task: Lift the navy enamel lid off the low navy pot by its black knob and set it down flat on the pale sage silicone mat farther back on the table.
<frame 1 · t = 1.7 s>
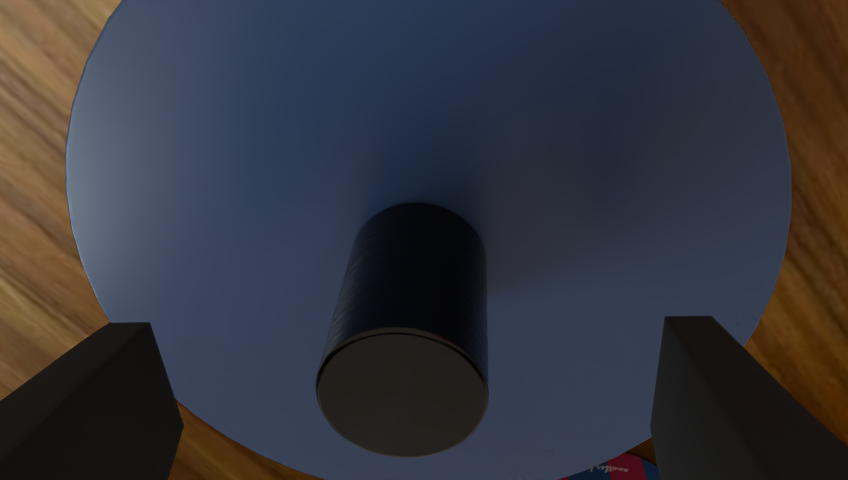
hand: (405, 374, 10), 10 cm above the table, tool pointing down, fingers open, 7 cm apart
lid: (420, 245, 13), point 6 cm above the table, touching pot
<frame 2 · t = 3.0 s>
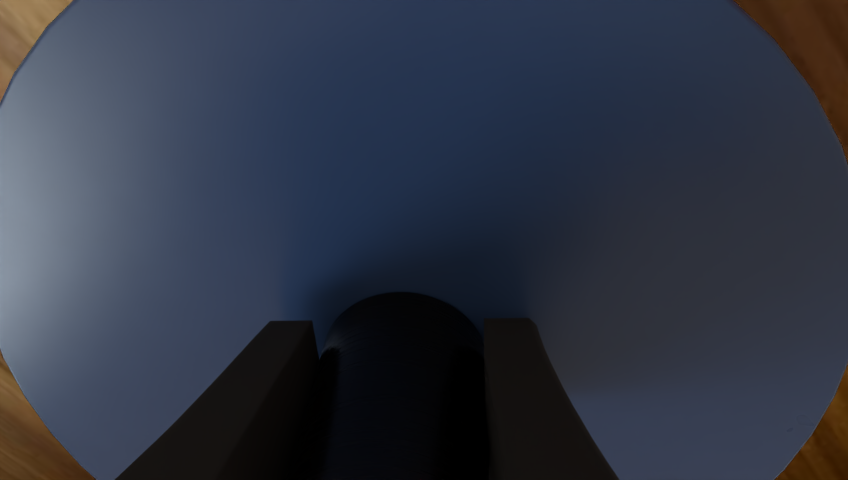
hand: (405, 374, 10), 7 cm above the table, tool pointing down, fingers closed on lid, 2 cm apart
lid: (408, 334, 11), point 6 cm above the table, touching gripper, pot
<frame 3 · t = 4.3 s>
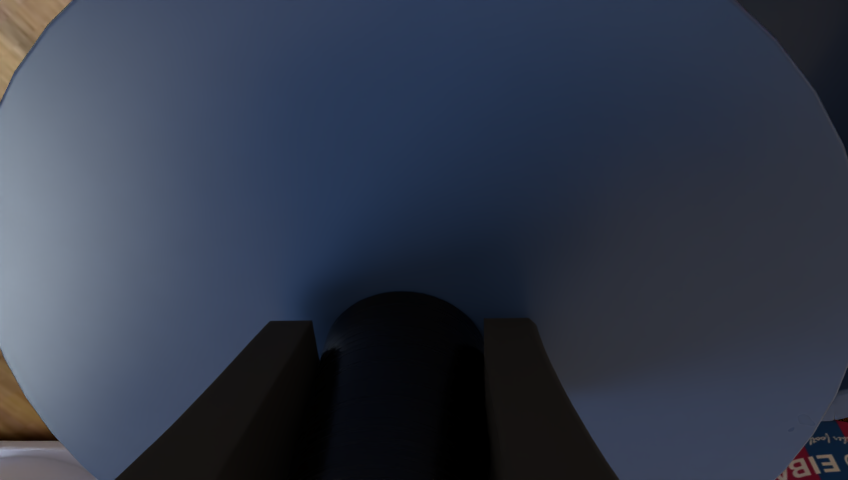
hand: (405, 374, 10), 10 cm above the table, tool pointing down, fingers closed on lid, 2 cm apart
pot: (730, 58, 18), on the table
lid: (409, 333, 11), point 9 cm above the table, touching gripper
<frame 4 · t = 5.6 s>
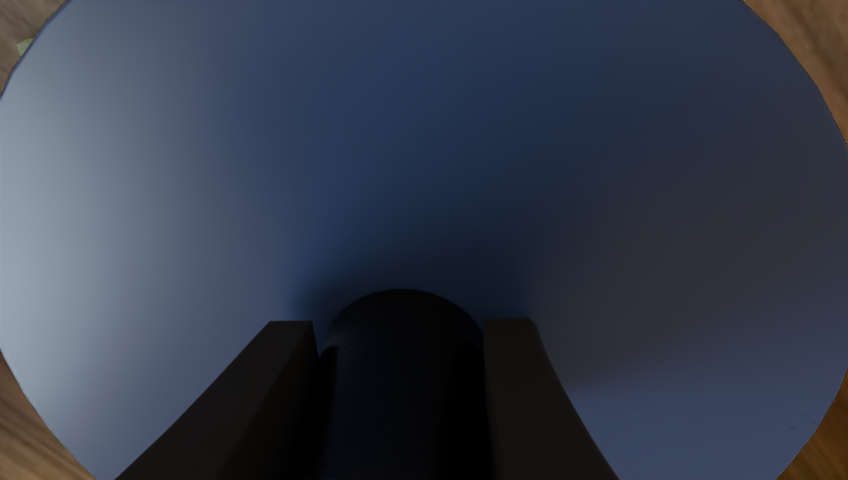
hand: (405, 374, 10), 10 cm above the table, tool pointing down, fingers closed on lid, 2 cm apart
lid: (409, 331, 11), point 9 cm above the table, touching gripper
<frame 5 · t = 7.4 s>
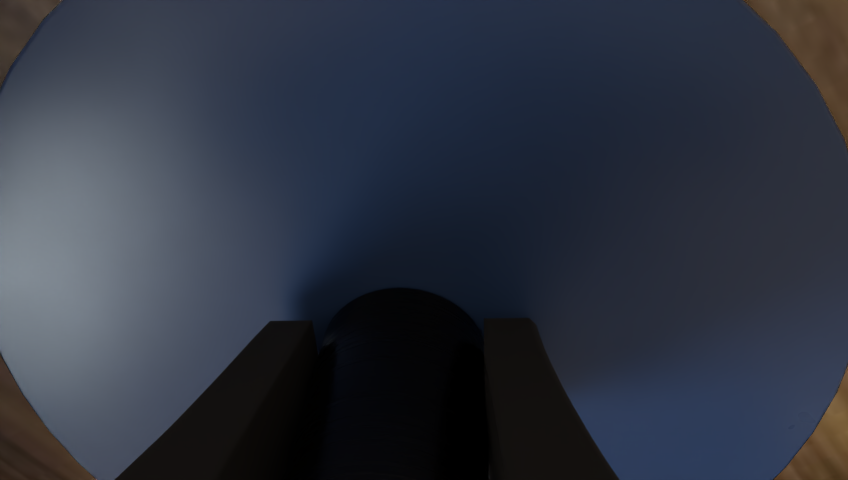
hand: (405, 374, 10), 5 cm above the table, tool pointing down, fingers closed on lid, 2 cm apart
lid: (407, 330, 11), point 4 cm above the table, touching gripper
when the fingers open (2 cm above the table, at t = 8.3 s): lid stays where it is, resting on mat.
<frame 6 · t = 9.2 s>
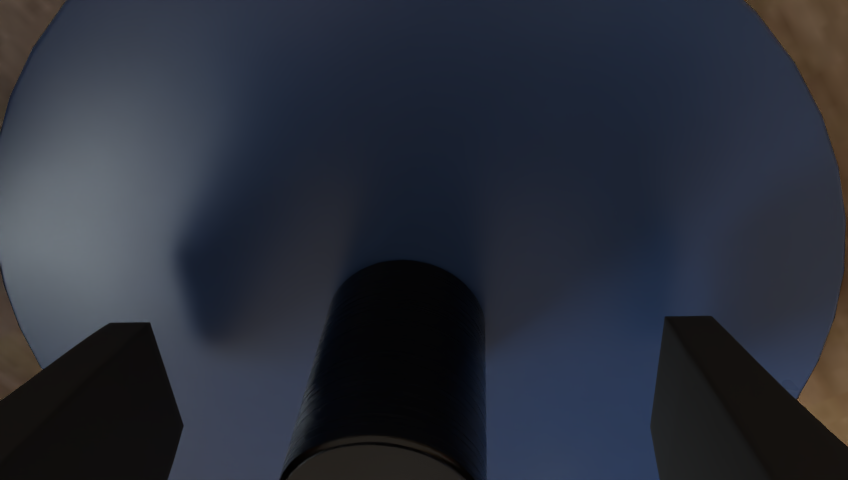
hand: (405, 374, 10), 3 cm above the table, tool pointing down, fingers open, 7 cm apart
lid: (409, 303, 12), point 1 cm above the table, touching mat
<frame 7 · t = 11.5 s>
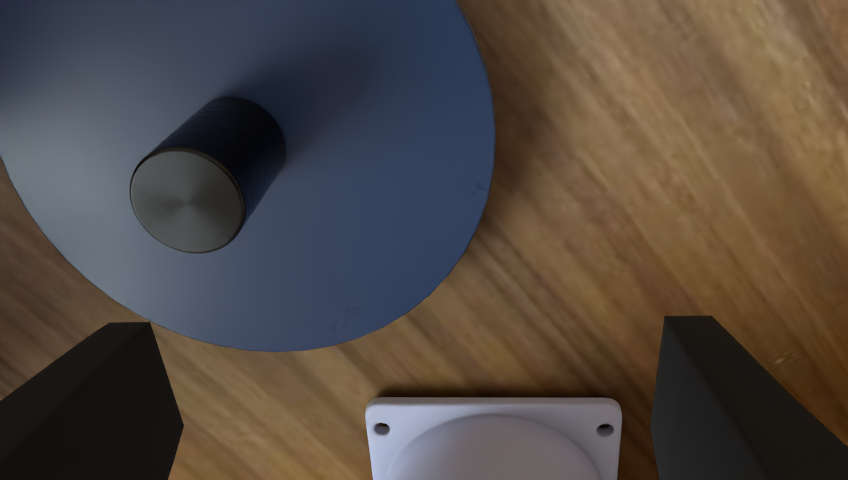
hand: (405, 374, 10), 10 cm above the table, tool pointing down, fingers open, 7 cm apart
lid: (244, 136, 18), point 1 cm above the table, touching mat
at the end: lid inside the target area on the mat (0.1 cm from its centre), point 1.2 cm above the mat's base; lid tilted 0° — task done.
